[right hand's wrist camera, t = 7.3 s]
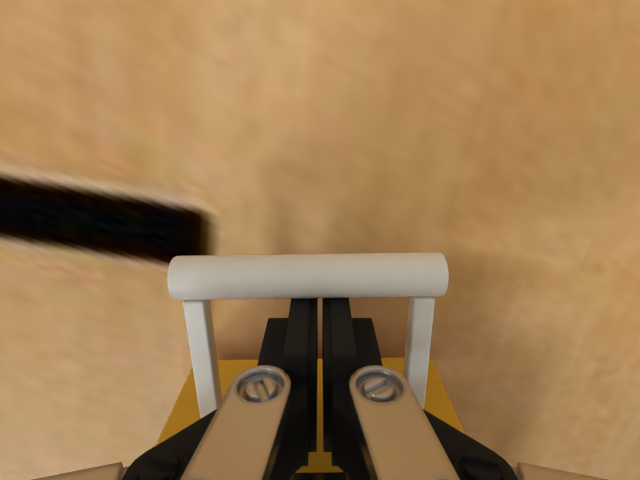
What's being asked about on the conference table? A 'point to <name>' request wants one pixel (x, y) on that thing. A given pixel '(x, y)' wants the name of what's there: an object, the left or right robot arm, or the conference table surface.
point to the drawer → (305, 282)
